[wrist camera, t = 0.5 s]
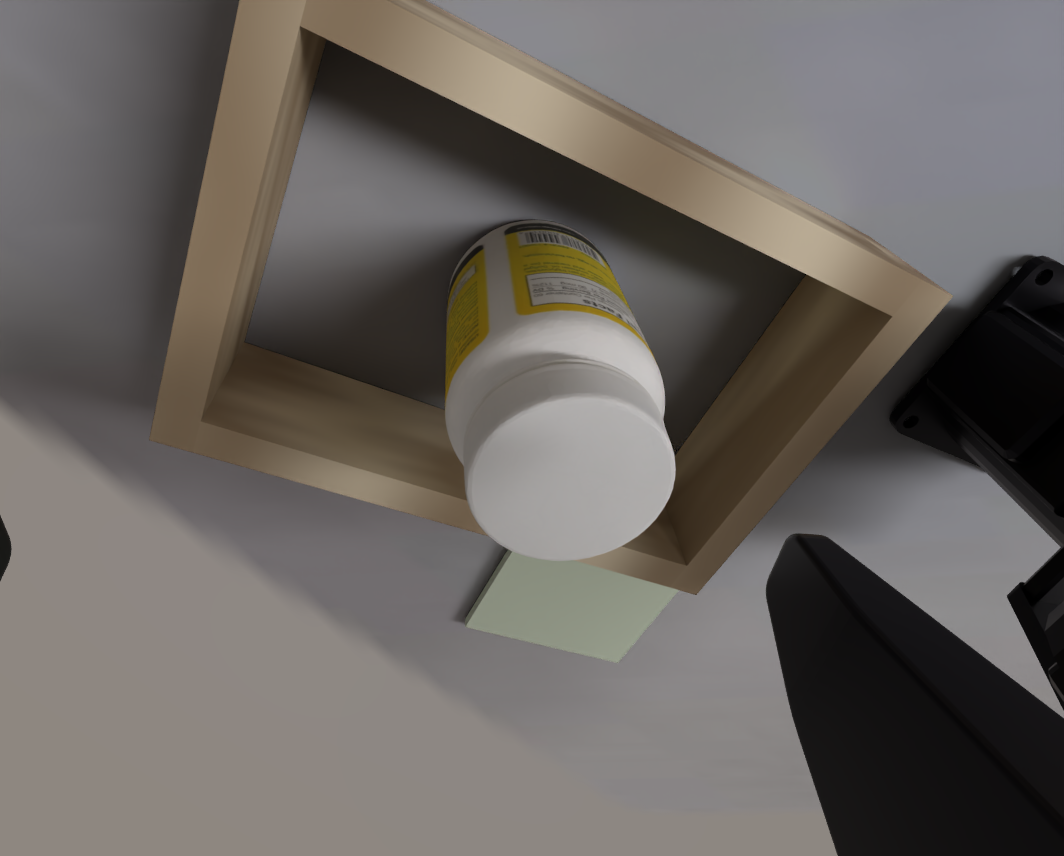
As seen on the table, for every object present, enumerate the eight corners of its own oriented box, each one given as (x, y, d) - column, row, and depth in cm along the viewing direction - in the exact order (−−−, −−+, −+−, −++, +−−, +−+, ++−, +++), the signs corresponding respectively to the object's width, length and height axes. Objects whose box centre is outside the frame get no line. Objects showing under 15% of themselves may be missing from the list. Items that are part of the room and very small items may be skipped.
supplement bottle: (493, 393, 21) (508, 605, 14) (415, 263, 19) (389, 447, 12) (637, 329, 20) (726, 523, 14) (576, 184, 18) (649, 332, 11)
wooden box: (870, 237, 19) (952, 295, 16) (664, 509, 25) (696, 594, 21) (301, -66, 14) (253, -70, 11) (200, 358, 20) (148, 440, 16)
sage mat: (706, 545, 26) (709, 553, 26) (616, 655, 29) (617, 663, 29) (542, 494, 24) (543, 501, 23) (465, 618, 27) (465, 627, 27)
